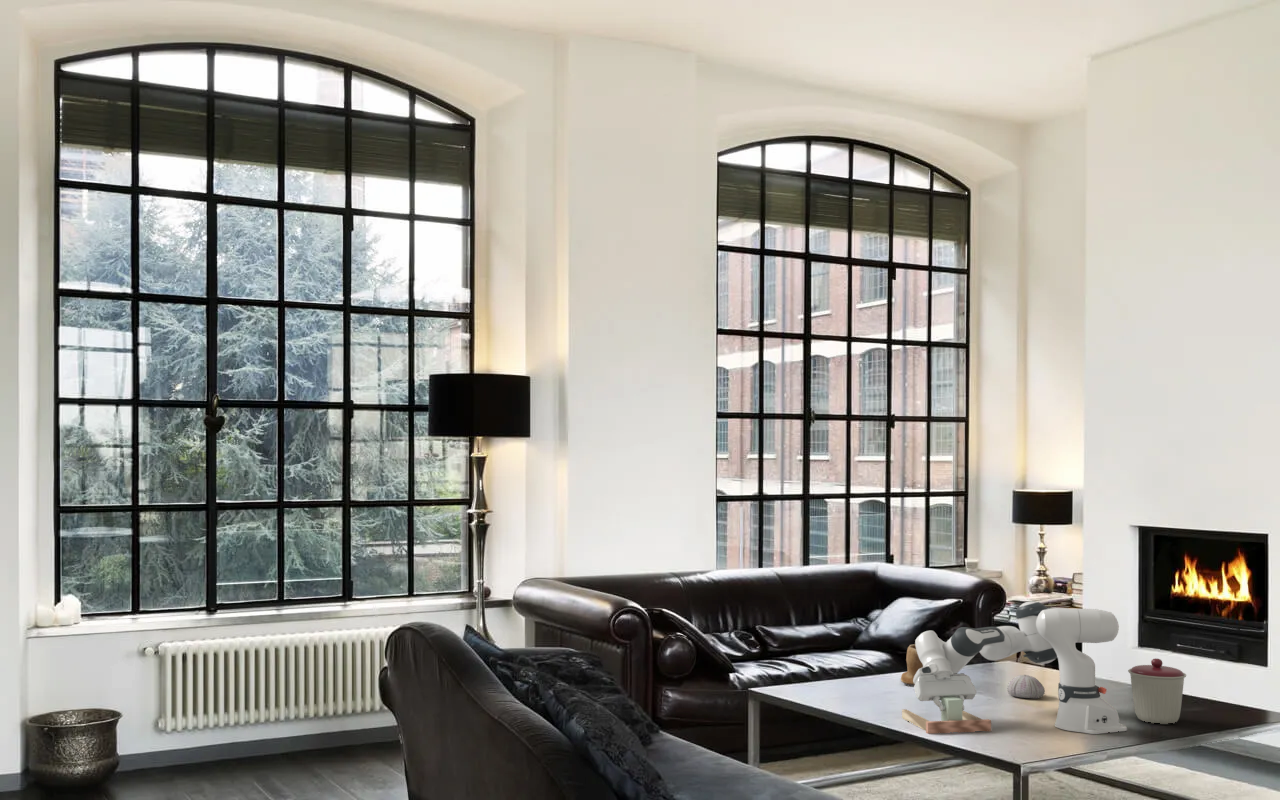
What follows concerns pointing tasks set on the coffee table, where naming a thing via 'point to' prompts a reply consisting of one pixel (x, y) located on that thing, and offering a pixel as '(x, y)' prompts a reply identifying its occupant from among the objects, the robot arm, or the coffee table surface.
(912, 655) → the tan boot
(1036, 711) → the coffee table surface
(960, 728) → the bay
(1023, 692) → the sea urchin shell
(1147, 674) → the canister
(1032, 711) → the coffee table surface
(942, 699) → the pale green block
